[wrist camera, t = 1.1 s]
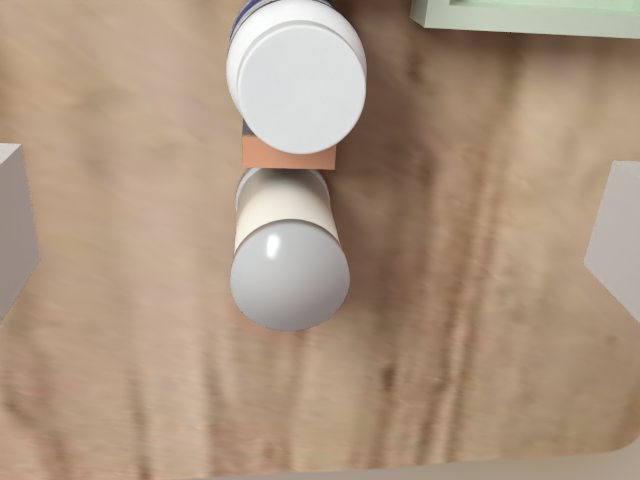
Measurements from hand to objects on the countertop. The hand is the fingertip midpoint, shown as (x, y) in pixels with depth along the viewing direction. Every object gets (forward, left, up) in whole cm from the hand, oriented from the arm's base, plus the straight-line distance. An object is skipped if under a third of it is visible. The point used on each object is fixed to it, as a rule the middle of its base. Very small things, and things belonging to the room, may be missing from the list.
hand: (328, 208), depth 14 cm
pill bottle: (0, 0, -19) cm, 19 cm away
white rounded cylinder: (+8, 0, -19) cm, 21 cm away
